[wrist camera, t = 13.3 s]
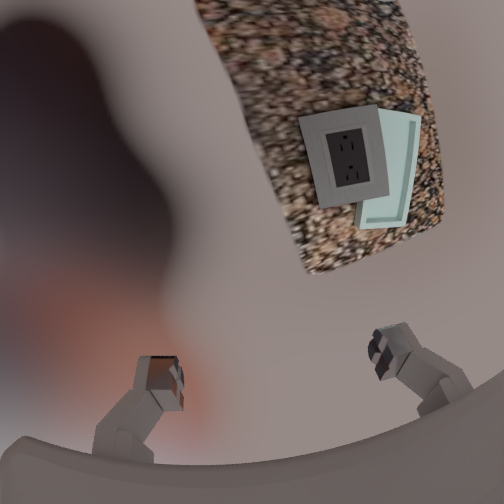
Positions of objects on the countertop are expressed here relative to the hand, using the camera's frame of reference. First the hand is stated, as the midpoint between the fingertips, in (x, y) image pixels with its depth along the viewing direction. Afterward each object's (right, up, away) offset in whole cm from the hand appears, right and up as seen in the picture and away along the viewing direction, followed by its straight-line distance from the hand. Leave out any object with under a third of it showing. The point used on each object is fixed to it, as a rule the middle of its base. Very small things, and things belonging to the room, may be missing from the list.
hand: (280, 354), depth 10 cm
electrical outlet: (+7, +17, +26) cm, 32 cm away
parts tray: (+19, +17, +27) cm, 37 cm away
